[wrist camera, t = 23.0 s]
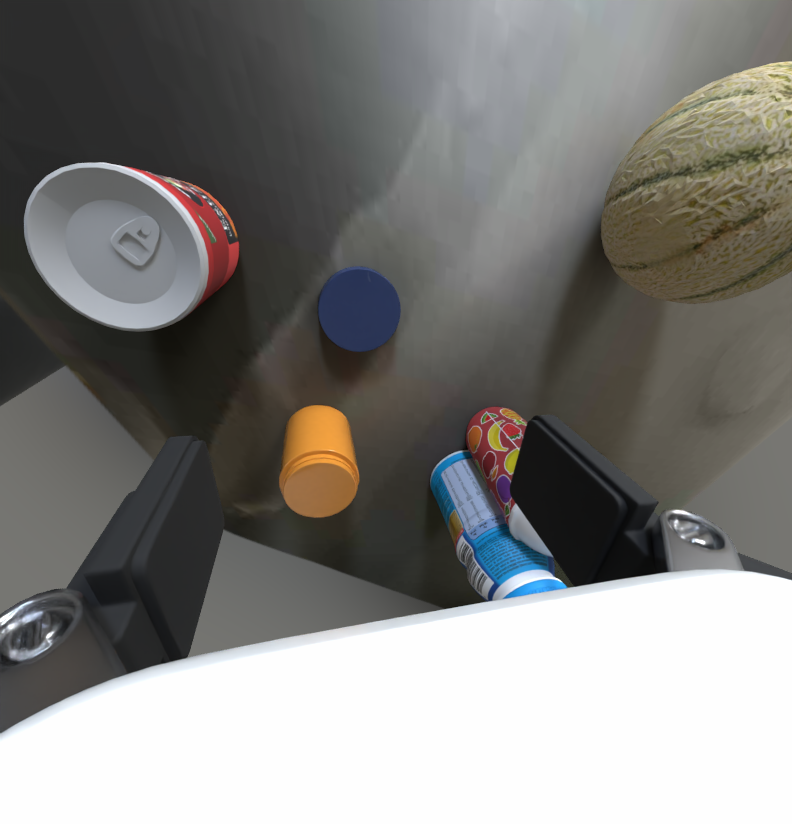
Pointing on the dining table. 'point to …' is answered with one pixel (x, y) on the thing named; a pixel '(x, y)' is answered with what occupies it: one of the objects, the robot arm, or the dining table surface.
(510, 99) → the dining table surface
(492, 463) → the smoothie
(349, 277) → the lid
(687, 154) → the cantaloupe
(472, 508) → the beverage bottle
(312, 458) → the jar
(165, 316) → the canned food
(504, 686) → the robot arm
